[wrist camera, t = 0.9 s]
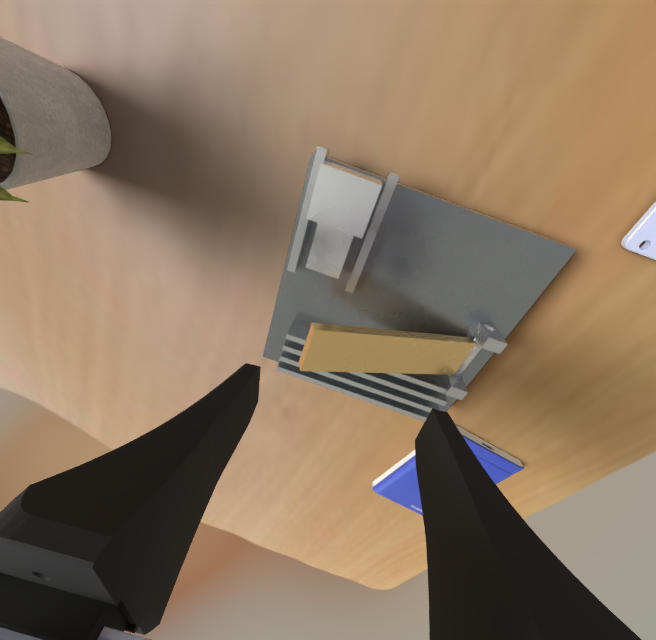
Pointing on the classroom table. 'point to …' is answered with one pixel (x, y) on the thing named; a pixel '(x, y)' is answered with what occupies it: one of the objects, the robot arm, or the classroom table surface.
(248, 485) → the classroom table surface
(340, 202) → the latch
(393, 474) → the hard drive
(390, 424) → the classroom table surface
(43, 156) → the house plant
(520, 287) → the grey slotted fixture base
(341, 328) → the tan rectangular plate
